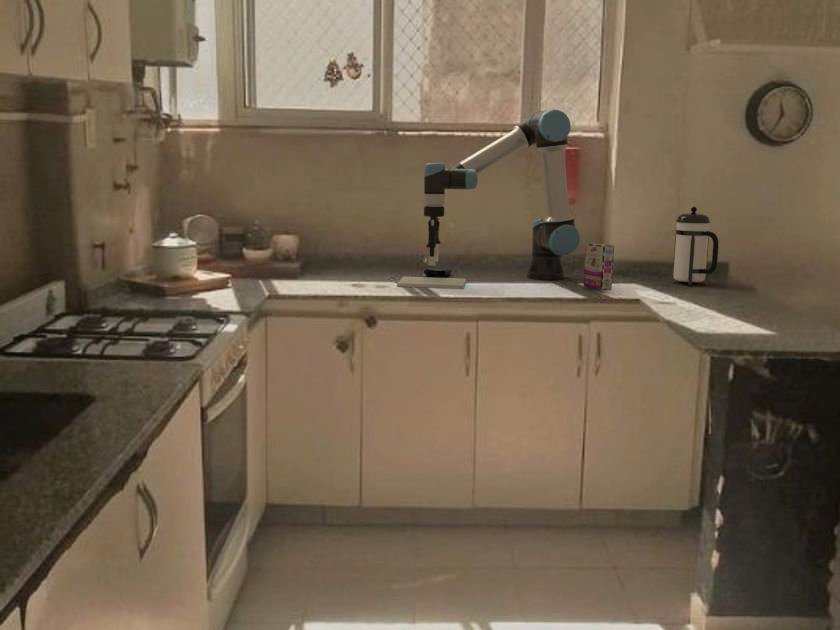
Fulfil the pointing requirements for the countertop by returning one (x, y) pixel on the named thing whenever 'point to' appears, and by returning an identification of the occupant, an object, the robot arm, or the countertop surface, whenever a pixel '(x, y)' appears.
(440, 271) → the flask
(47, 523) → the countertop surface
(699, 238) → the coffee press
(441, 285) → the beige flat panel
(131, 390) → the countertop surface
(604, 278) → the candy bar box
